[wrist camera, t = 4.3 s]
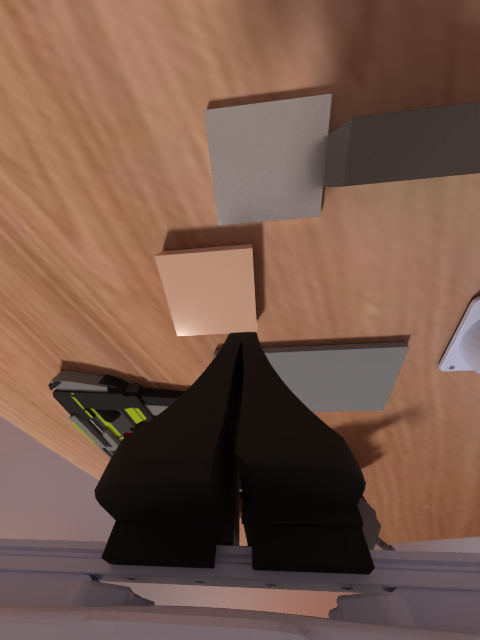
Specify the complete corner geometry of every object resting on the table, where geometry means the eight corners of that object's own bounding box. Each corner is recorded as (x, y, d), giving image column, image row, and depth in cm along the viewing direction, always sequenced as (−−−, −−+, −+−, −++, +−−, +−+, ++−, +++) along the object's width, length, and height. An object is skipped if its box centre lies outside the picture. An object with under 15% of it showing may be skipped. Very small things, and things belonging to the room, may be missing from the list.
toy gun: (231, 470, 28) (130, 492, 30) (232, 440, 32) (142, 461, 34) (159, 354, 20) (25, 394, 22) (171, 331, 23) (56, 367, 25)
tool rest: (403, 341, 20) (409, 346, 20) (379, 404, 25) (383, 410, 24) (215, 350, 22) (213, 355, 21) (225, 407, 26) (225, 413, 26)
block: (252, 248, 15) (154, 256, 15) (257, 331, 18) (177, 336, 19) (251, 243, 16) (162, 250, 17) (256, 322, 20) (182, 326, 20)
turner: (482, 78, 11) (582, 29, 8) (438, 204, 15) (497, 209, 11) (205, 113, 13) (189, 84, 9) (219, 224, 16) (211, 233, 12)
